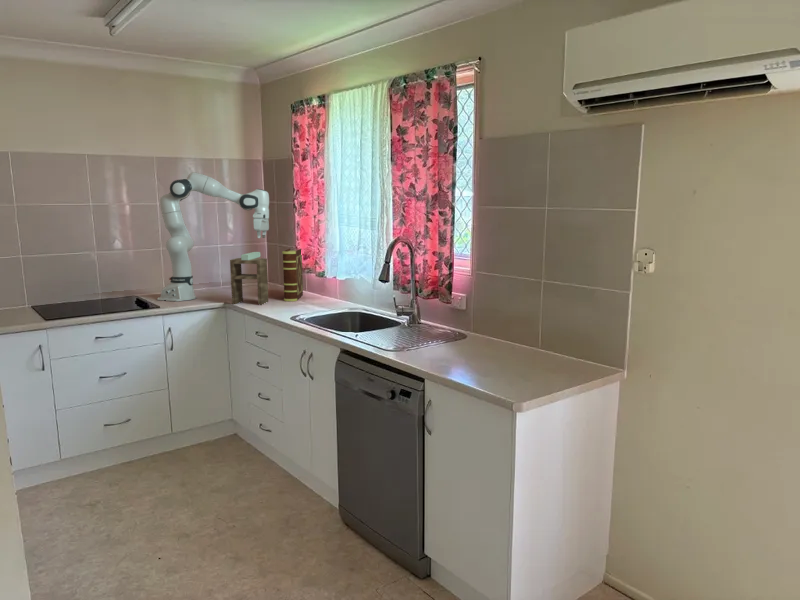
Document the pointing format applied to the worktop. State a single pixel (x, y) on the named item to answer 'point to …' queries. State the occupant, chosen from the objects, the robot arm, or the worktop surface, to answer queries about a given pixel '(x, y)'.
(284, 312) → the worktop surface
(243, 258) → the pale green bar
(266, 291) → the walnut shelf
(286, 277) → the decorative book
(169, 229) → the robot arm
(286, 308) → the worktop surface
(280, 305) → the worktop surface
